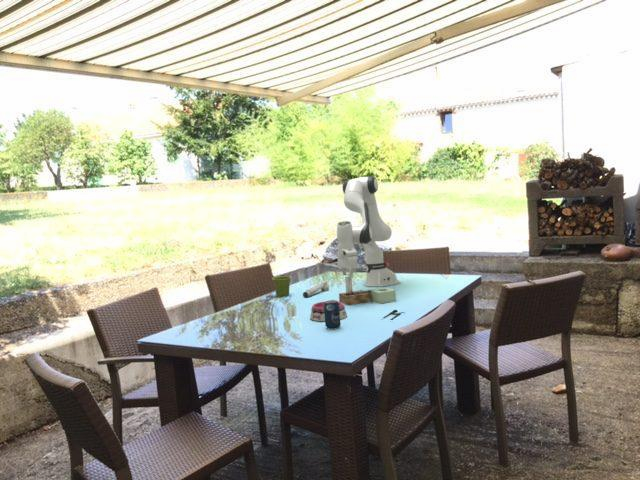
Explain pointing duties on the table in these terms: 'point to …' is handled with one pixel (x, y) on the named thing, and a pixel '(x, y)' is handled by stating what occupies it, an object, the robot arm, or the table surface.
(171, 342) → the table surface
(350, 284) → the peg
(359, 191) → the robot arm
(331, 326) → the soda can
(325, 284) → the white elongated piece
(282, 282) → the plant pot
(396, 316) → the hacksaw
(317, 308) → the dog bowl
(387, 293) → the square hole block
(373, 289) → the block
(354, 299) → the socket block
